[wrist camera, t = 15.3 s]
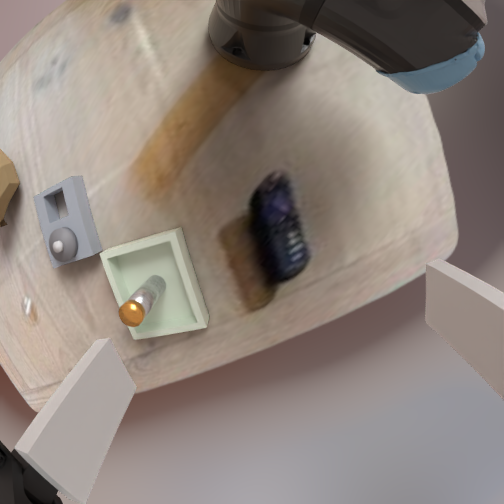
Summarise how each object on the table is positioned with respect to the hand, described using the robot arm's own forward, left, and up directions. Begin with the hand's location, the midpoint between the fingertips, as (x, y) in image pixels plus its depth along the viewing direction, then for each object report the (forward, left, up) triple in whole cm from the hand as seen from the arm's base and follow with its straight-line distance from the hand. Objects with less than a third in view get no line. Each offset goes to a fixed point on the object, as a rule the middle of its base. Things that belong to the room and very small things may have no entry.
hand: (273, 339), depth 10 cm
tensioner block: (-8, -28, -29) cm, 41 cm away
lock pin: (+5, -16, -28) cm, 33 cm away
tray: (+5, -16, -29) cm, 33 cm away
